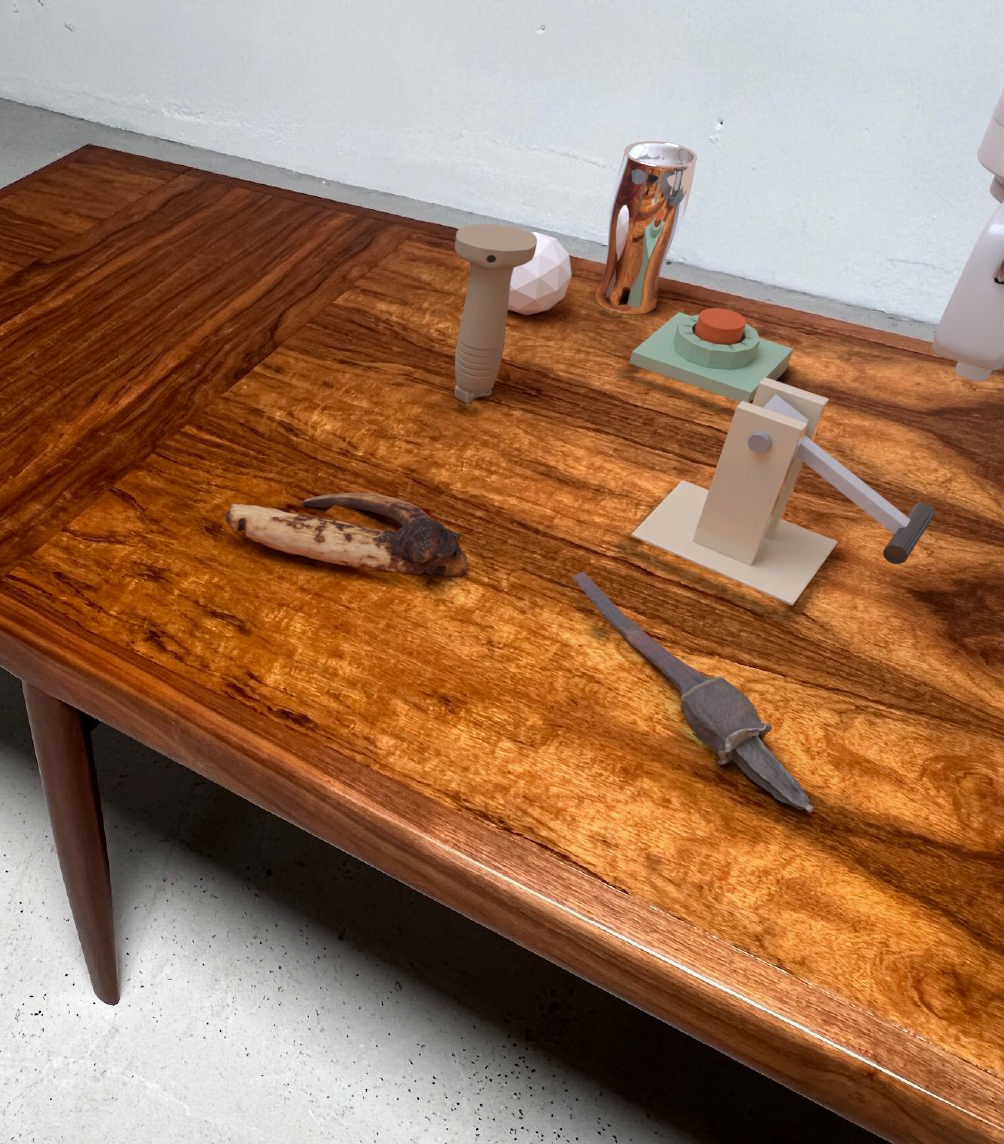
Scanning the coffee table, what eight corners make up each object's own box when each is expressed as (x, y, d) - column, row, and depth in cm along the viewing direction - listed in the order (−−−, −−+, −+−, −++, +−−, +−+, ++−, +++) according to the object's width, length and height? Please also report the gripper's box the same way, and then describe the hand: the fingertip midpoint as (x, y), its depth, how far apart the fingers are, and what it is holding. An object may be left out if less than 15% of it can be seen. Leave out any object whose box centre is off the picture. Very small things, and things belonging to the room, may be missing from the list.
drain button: (747, 334, 101) (753, 317, 100) (730, 351, 99) (735, 333, 98) (705, 321, 103) (710, 303, 102) (686, 337, 101) (691, 319, 100)
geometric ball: (532, 342, 113) (551, 307, 105) (468, 297, 114) (481, 260, 106) (576, 287, 114) (597, 248, 106) (511, 243, 115) (528, 202, 108)
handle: (505, 417, 97) (533, 254, 88) (432, 406, 99) (451, 244, 89) (511, 389, 101) (539, 230, 91) (440, 379, 102) (461, 220, 93)
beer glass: (658, 321, 110) (698, 171, 101) (586, 311, 112) (619, 162, 102) (662, 291, 115) (700, 144, 106) (593, 281, 117) (624, 136, 107)
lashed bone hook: (475, 534, 86) (249, 490, 89) (485, 483, 83) (252, 440, 86) (458, 609, 79) (214, 558, 82) (469, 557, 76) (215, 506, 79)
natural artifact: (778, 838, 65) (762, 816, 62) (571, 586, 81) (551, 559, 78) (835, 801, 64) (823, 777, 62) (615, 554, 80) (597, 526, 77)
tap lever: (918, 529, 76) (945, 508, 75) (890, 572, 73) (918, 552, 71) (763, 405, 79) (786, 382, 77) (730, 441, 76) (752, 418, 74)
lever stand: (832, 553, 83) (898, 405, 75) (788, 616, 78) (852, 465, 70) (678, 491, 89) (723, 348, 81) (627, 545, 84) (669, 398, 76)
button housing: (786, 369, 103) (800, 330, 101) (744, 414, 98) (757, 374, 95) (673, 332, 109) (683, 294, 106) (626, 372, 103) (636, 333, 100)
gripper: (1113, 216, 51) (986, 466, 60) (1186, 99, 63) (1071, 322, 71) (962, 183, 54) (863, 425, 63) (1059, 77, 66) (964, 294, 75)
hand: (974, 370), depth 67 cm, fingers closed
